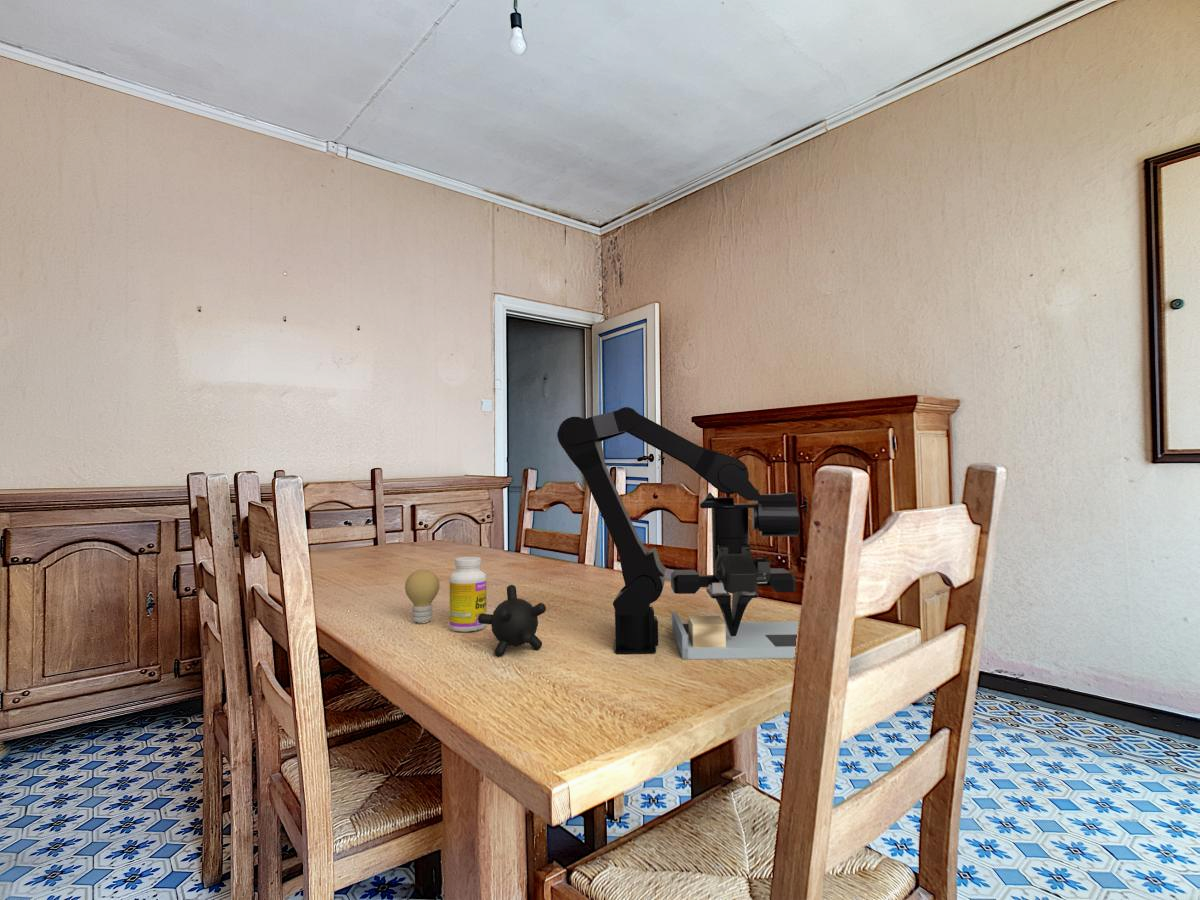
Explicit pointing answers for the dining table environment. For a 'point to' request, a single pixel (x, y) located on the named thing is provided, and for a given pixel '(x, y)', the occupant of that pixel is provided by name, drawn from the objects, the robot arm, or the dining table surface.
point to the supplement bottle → (467, 595)
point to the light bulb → (422, 593)
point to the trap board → (742, 641)
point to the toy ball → (514, 622)
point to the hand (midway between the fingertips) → (732, 635)
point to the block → (707, 631)
